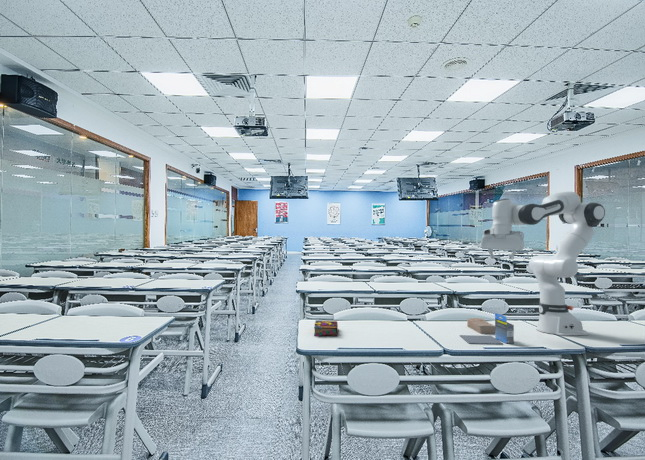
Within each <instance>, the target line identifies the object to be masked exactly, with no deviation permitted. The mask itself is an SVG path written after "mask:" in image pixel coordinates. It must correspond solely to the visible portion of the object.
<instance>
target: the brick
mask: <svg viewBox="0 0 645 460" xmlns="http://www.w3.org/2000/svg"><path fill="white" fill-rule="evenodd" d="M466 321H467V327H468V328H470V329H471V330H473V331H475V332H477V333H479V334H481V335H495V325H494V324H492V323H490V322H488V321H486V320H485V319H484V318H482V317H481V318H479V317H477V318H476V317H475V318H472V317H471V318H467V320H466Z"/></svg>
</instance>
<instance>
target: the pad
mask: <svg viewBox="0 0 645 460" xmlns="http://www.w3.org/2000/svg"><path fill="white" fill-rule="evenodd" d="M459 337H460V338H461V339H462V340H463V341H465V342H466V343H467V344H470V345H504V342H502V341H499V340H497V339H495V336H492V335H473V334H472V335H471V334H470V335H469V334H461V335H459Z"/></svg>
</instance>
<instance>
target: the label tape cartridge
mask: <svg viewBox="0 0 645 460" xmlns="http://www.w3.org/2000/svg"><path fill="white" fill-rule="evenodd" d="M494 321H495V322H494V324H495V325H494V326H495V334H494V335H495V336H494V338H495V339H497V340H499V341H500V342H502V343H503V344H504V343H505V344H506V345H507V344H509V345H512V344H514V342H515V338H514V335H515V332H514V331H515V330H514V329H515V328H514V327H515V326H514V324H512V323H509V322H508V321H507V316H506V315H503V314H499V313H497V312H494Z"/></svg>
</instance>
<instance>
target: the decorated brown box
mask: <svg viewBox="0 0 645 460" xmlns="http://www.w3.org/2000/svg"><path fill="white" fill-rule="evenodd" d="M338 332H339V330H338V320H316V319H315V322H314V334H313V336H314V337H318V338H319V337H322V336H326V337H331V336H332V337H337V336H338Z"/></svg>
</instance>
